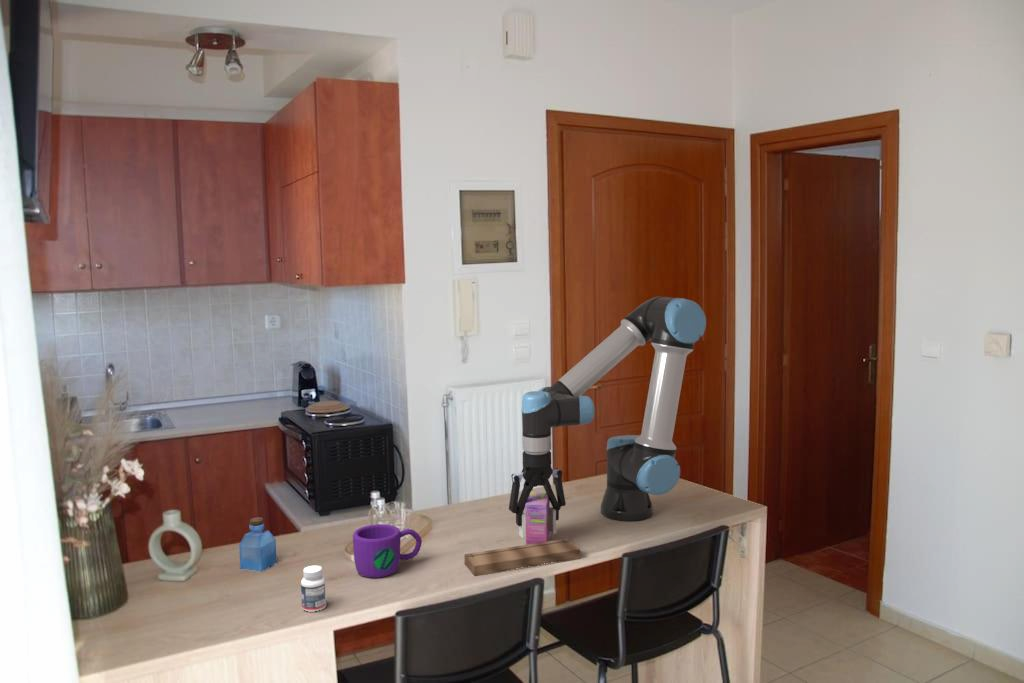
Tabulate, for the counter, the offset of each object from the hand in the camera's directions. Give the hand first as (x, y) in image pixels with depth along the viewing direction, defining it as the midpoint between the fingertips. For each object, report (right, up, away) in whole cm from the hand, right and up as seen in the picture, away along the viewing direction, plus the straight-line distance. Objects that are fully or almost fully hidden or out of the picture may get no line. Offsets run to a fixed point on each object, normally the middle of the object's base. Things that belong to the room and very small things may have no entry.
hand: (537, 534), depth 211 cm
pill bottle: (-50, -8, -36) cm, 62 cm away
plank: (-4, -4, -11) cm, 13 cm away
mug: (-37, -5, -15) cm, 40 cm away
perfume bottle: (-70, -5, -12) cm, 71 cm away
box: (0, -2, +1) cm, 2 cm away
